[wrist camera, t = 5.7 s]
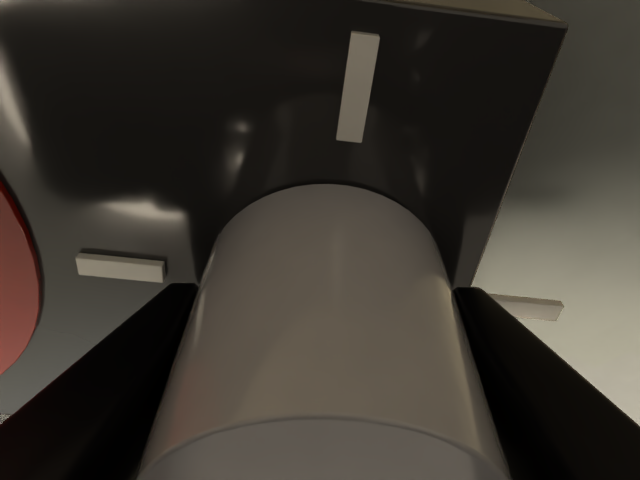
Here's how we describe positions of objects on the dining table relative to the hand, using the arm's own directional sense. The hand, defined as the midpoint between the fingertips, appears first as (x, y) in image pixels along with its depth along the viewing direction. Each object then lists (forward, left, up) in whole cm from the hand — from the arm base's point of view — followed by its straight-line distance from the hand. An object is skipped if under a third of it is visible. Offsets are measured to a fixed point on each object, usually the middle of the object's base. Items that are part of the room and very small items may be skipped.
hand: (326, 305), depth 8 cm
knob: (0, 0, 0) cm, 0 cm away
